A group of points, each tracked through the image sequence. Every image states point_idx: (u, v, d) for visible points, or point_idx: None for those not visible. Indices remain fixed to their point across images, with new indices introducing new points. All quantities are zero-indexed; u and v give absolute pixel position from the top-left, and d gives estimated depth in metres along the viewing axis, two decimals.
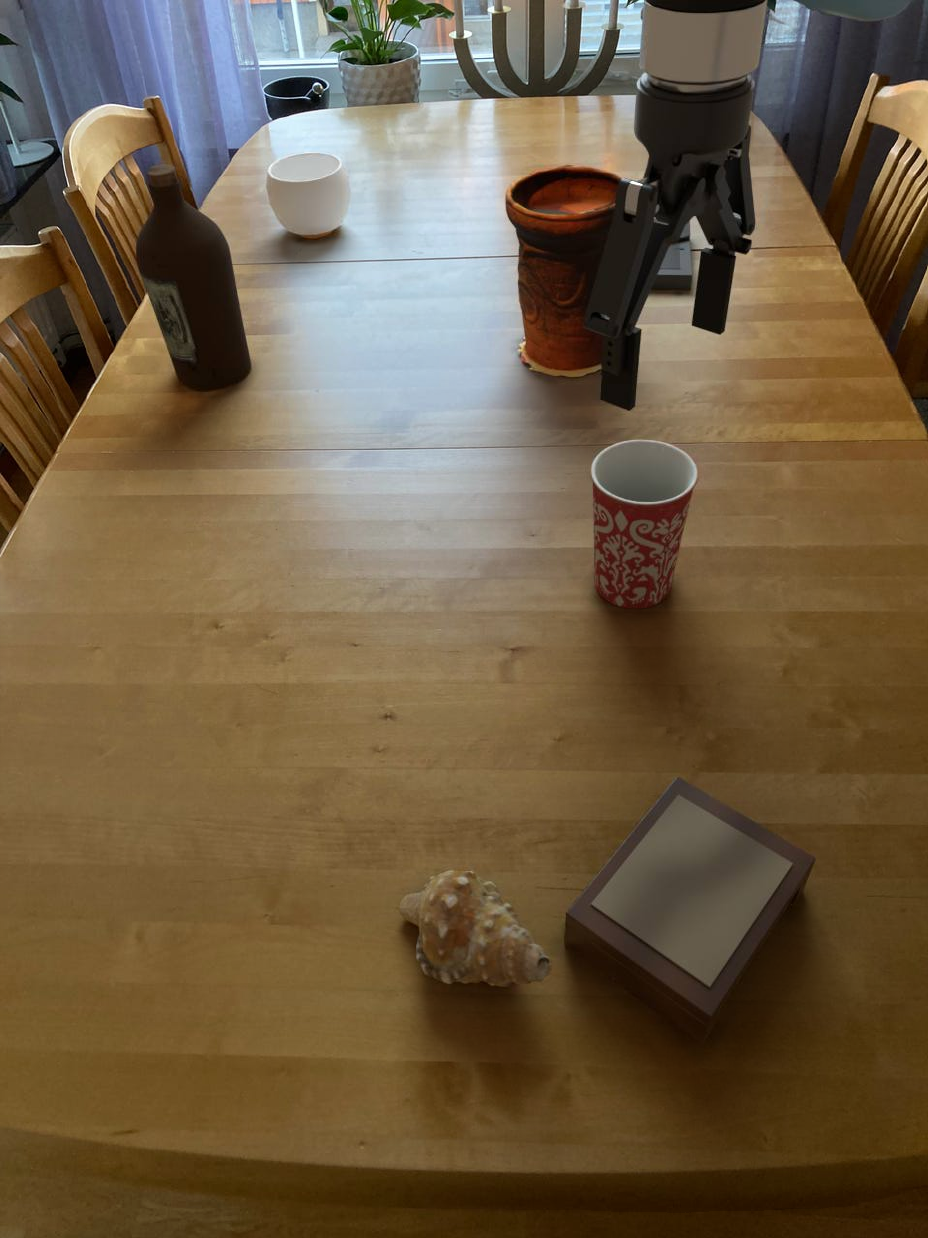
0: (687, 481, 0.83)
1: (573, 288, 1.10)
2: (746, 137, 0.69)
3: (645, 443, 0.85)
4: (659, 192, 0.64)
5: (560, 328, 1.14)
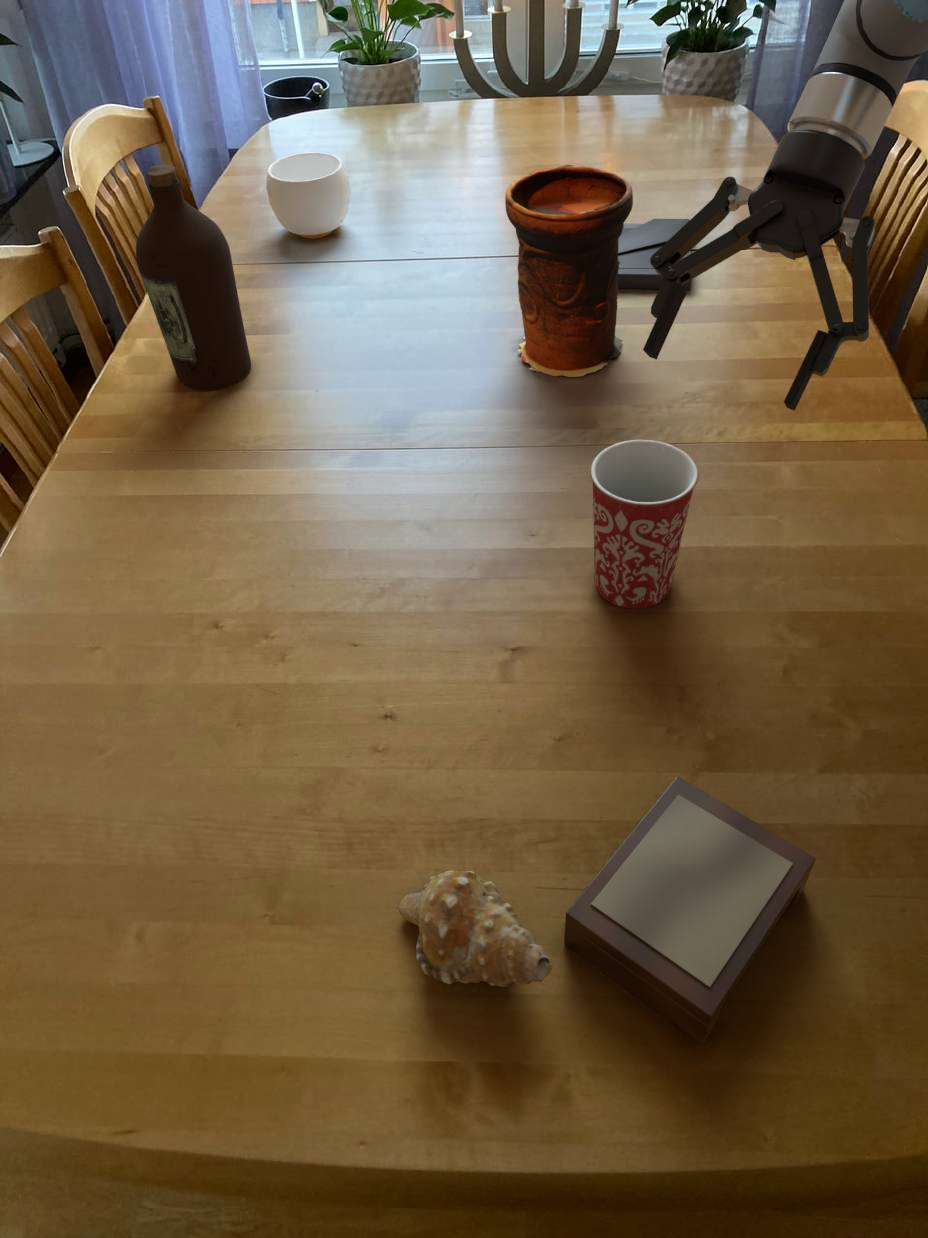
0: (687, 481, 0.83)
1: (573, 288, 1.10)
2: (863, 223, 0.81)
3: (645, 443, 0.85)
4: (747, 199, 0.85)
5: (560, 328, 1.14)
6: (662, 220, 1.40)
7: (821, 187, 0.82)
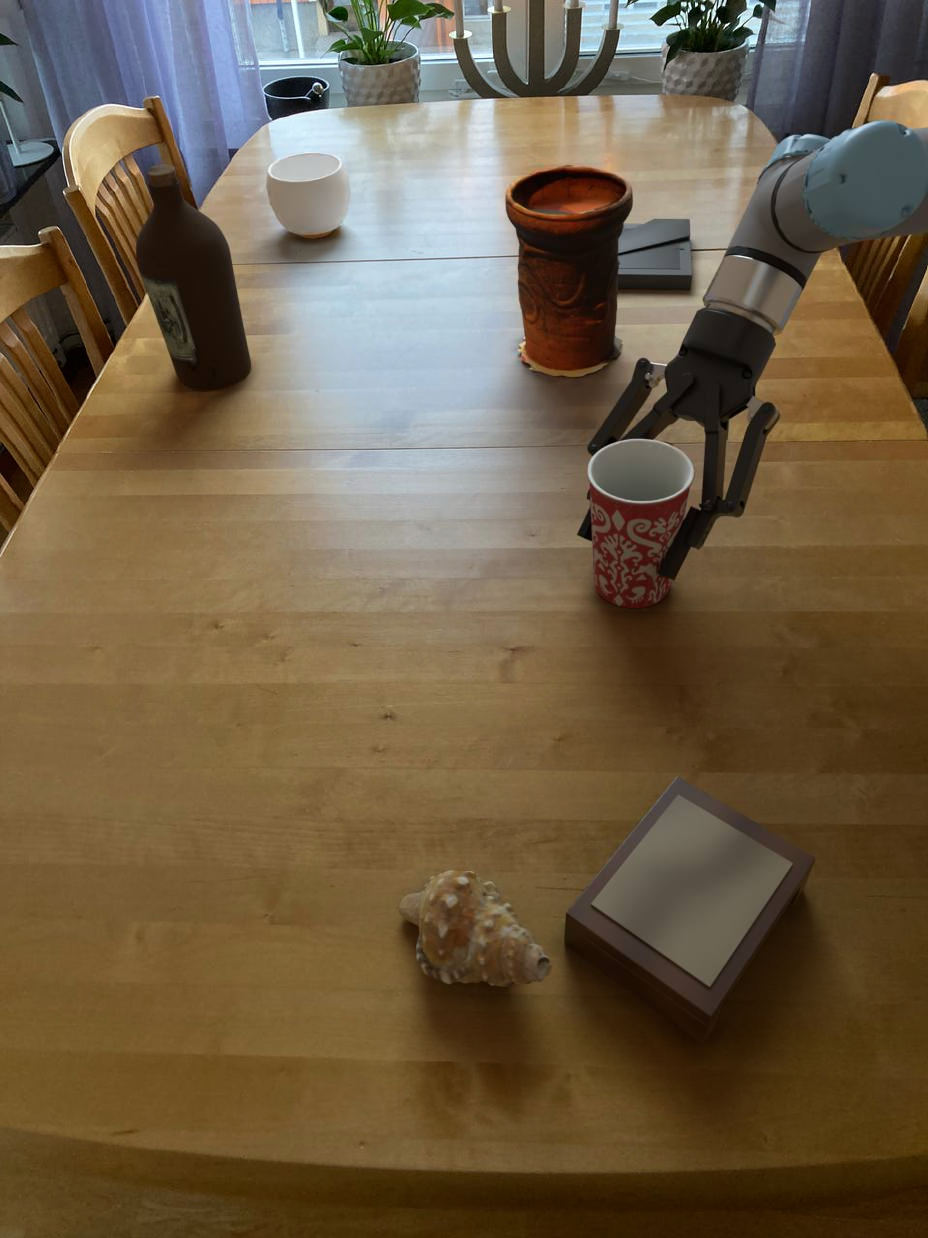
0: (684, 479, 0.83)
1: (573, 288, 1.10)
2: (763, 408, 0.82)
3: (642, 442, 0.85)
4: (664, 373, 0.87)
5: (560, 328, 1.14)
6: (662, 220, 1.40)
7: (729, 362, 0.83)
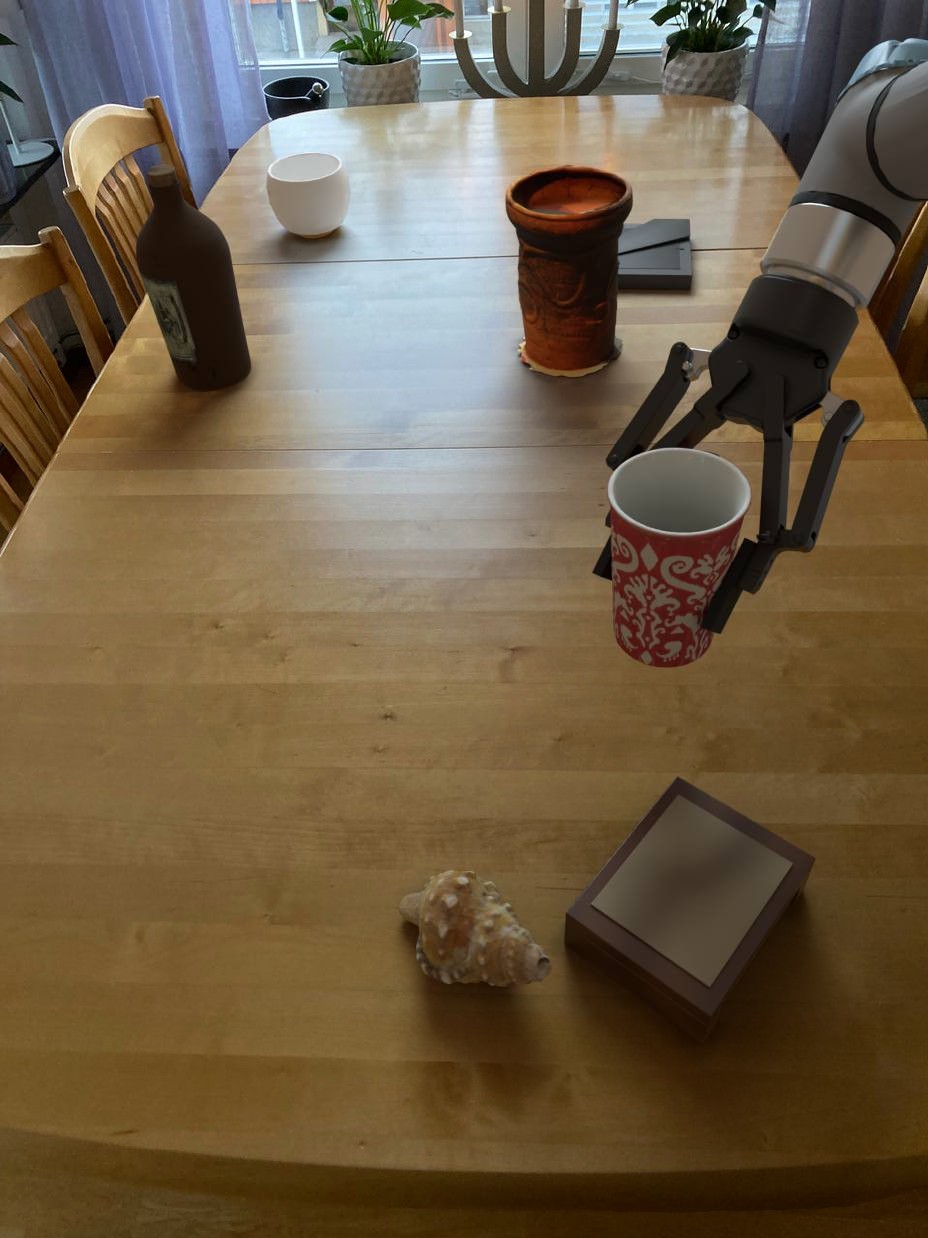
0: (736, 503, 0.62)
1: (573, 288, 1.10)
2: (844, 408, 0.61)
3: (679, 452, 0.65)
4: (707, 362, 0.67)
5: (560, 328, 1.14)
6: (662, 220, 1.40)
7: (797, 347, 0.62)
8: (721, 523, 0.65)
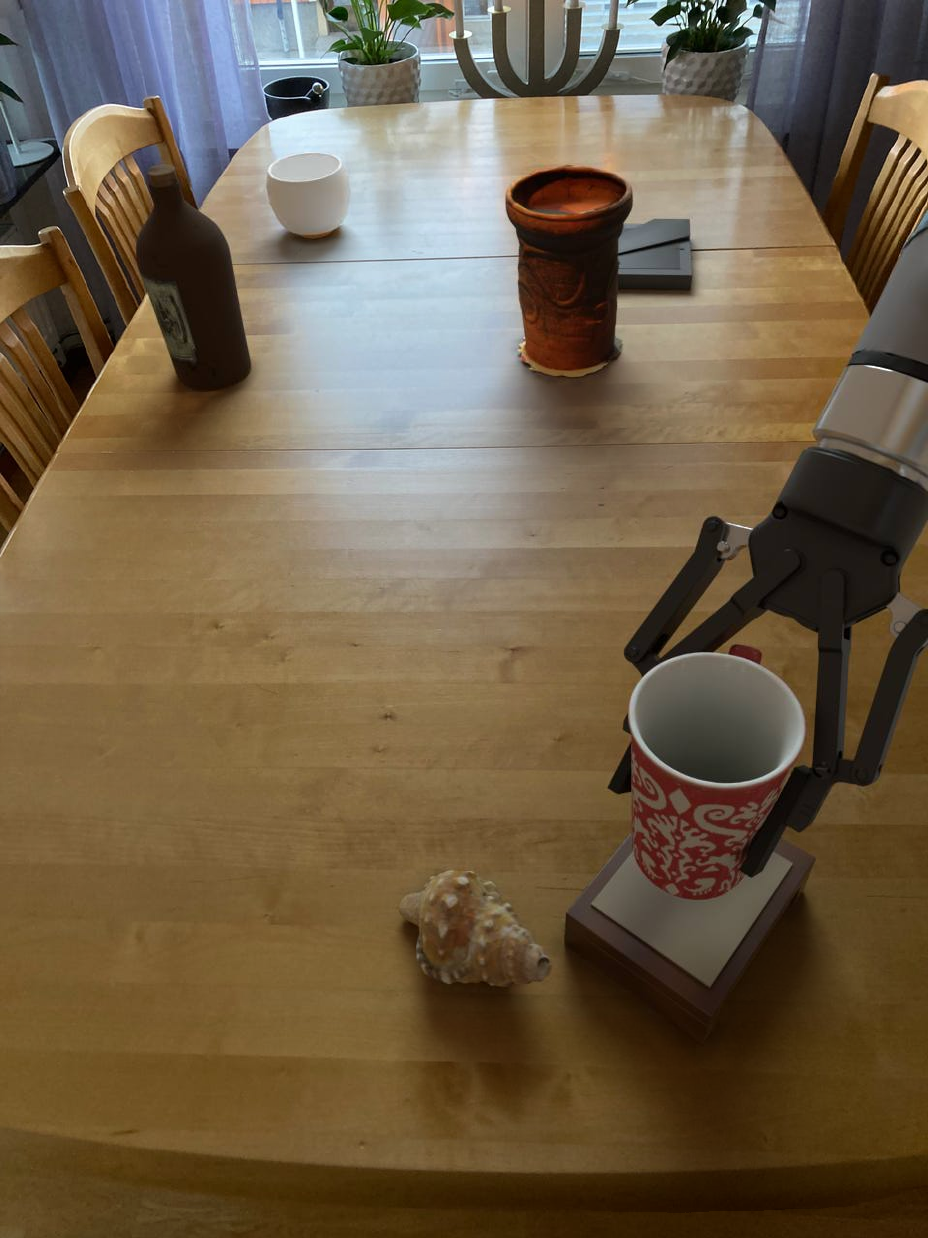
0: (786, 729, 0.51)
1: (573, 288, 1.10)
2: (920, 619, 0.50)
3: (715, 658, 0.53)
4: (748, 543, 0.55)
5: (560, 328, 1.14)
6: (662, 220, 1.40)
7: (860, 539, 0.51)
8: (764, 741, 0.54)
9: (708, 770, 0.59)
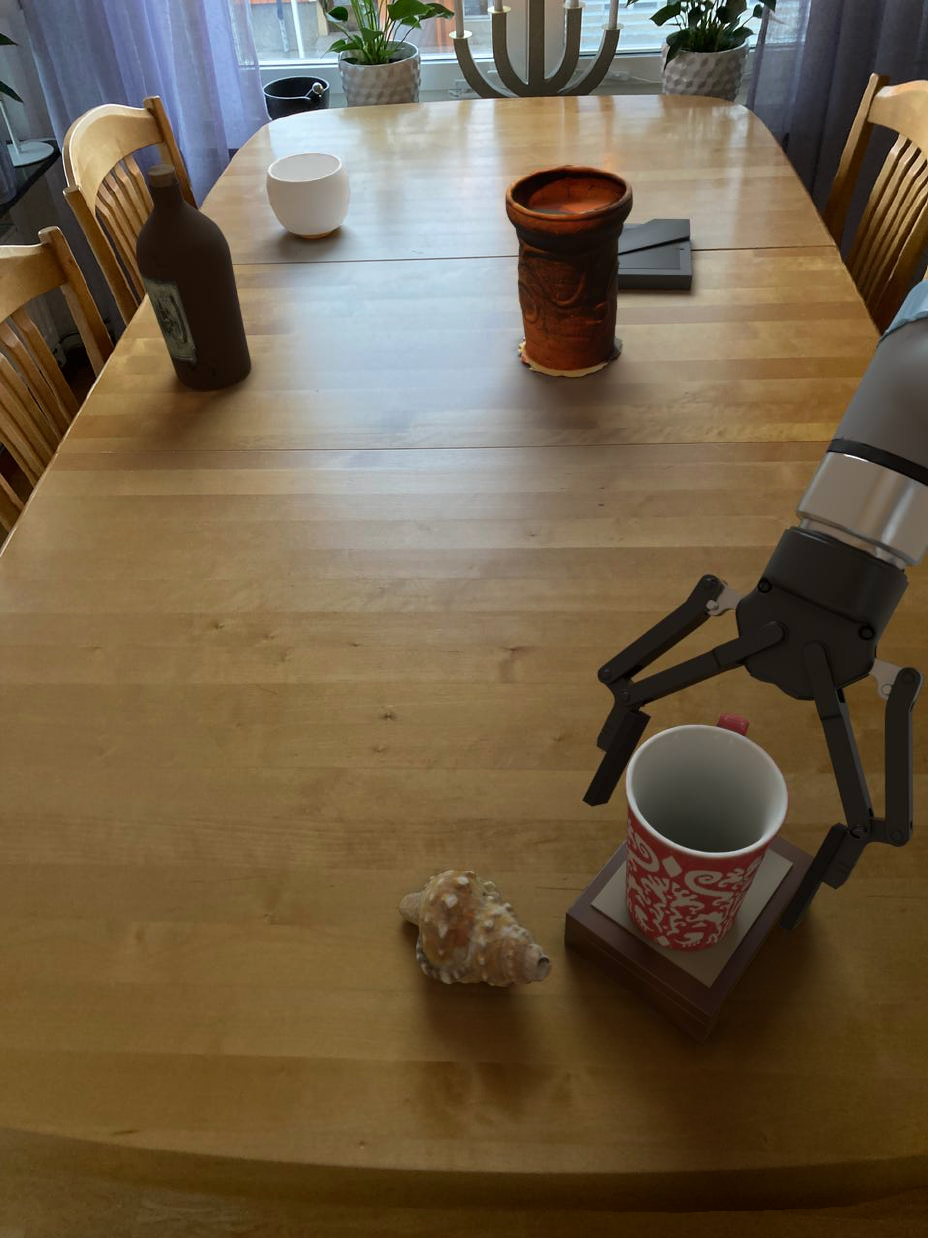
0: (770, 799, 0.55)
1: (573, 288, 1.10)
2: (903, 678, 0.53)
3: (705, 731, 0.57)
4: (735, 608, 0.59)
5: (560, 328, 1.14)
6: (662, 220, 1.40)
7: (839, 615, 0.55)
8: (750, 807, 0.58)
9: (697, 828, 0.64)
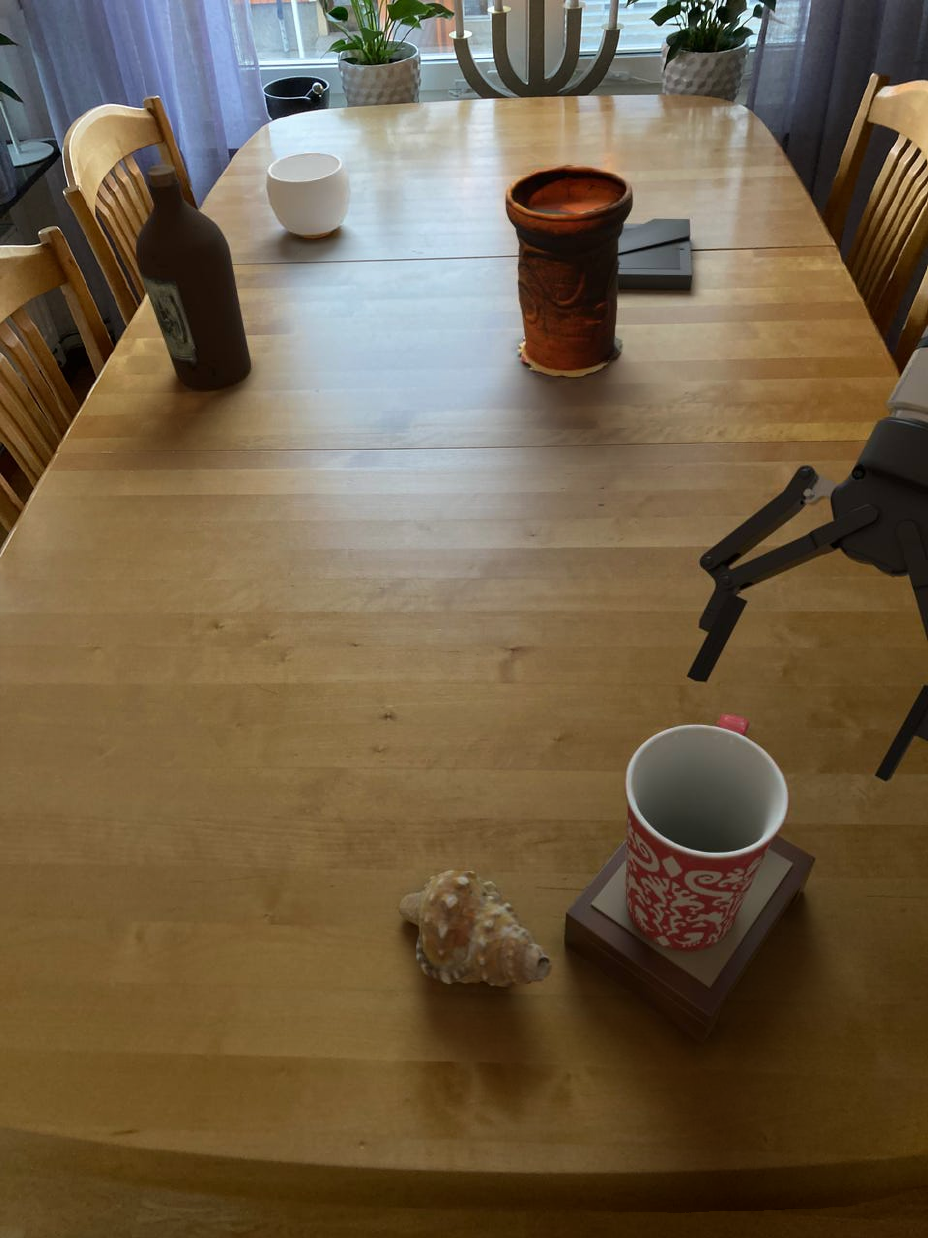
0: (770, 799, 0.55)
1: (573, 288, 1.10)
2: None
3: (705, 731, 0.57)
4: (830, 495, 0.65)
5: (560, 328, 1.14)
6: (662, 220, 1.40)
7: None
8: (750, 807, 0.58)
9: (697, 828, 0.64)
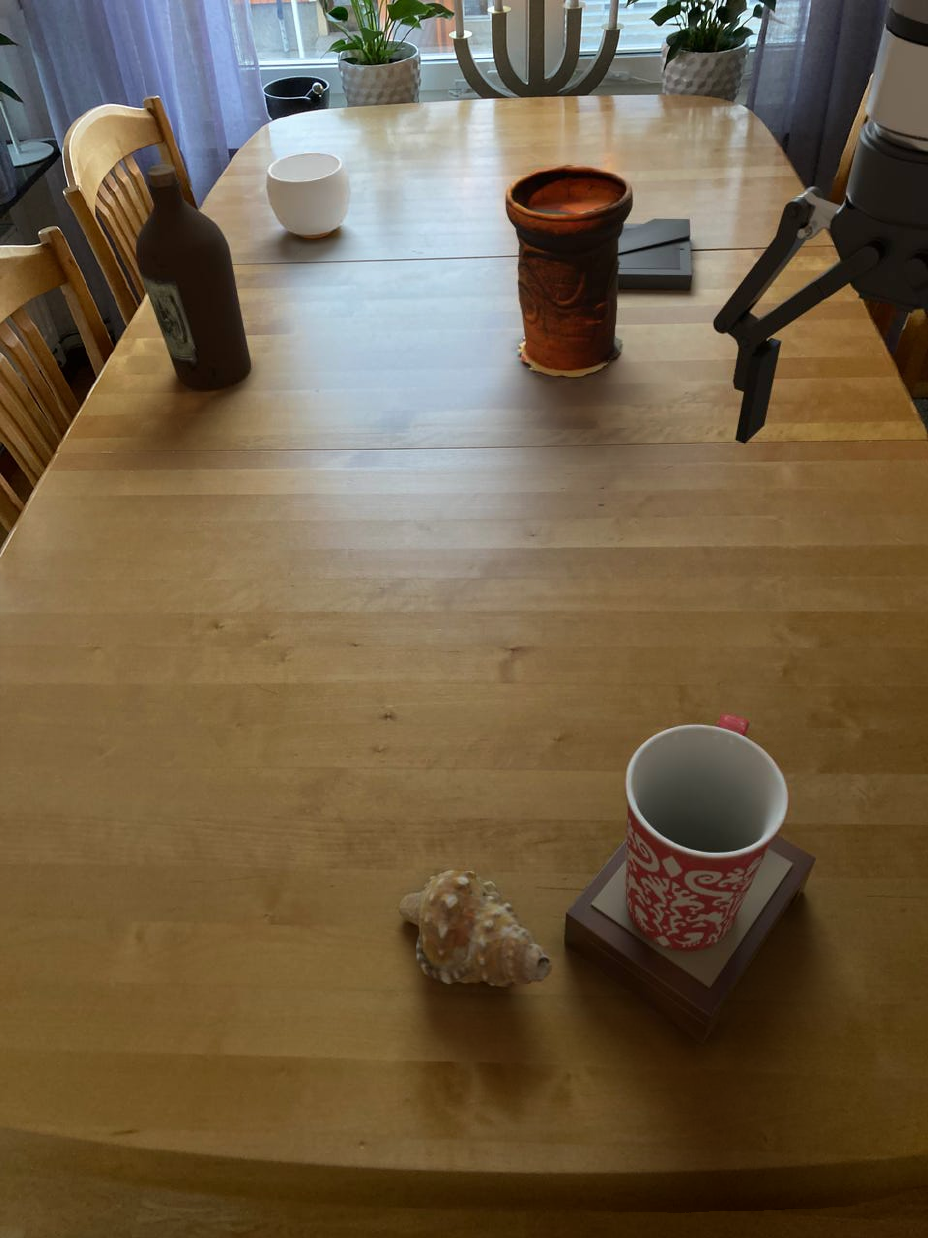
0: (770, 799, 0.55)
1: (573, 288, 1.10)
2: None
3: (705, 731, 0.57)
4: (829, 227, 0.54)
5: (560, 328, 1.14)
6: (662, 220, 1.40)
7: None
8: (750, 807, 0.58)
9: (697, 828, 0.64)
